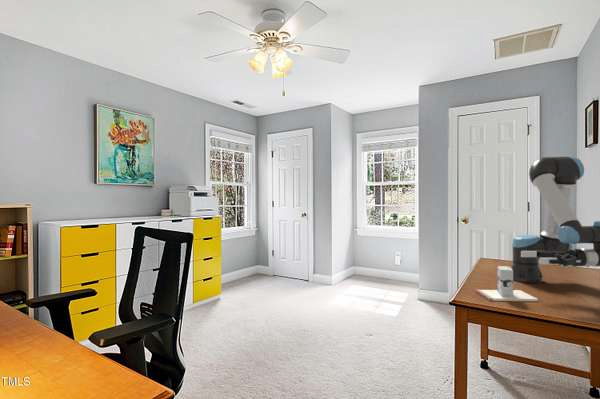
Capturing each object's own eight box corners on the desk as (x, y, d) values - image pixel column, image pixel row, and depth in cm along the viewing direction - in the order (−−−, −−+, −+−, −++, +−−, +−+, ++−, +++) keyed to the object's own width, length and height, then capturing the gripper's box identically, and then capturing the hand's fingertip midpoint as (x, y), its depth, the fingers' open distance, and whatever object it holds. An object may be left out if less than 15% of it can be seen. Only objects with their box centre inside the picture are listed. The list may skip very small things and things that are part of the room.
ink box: (497, 290, 157) (497, 265, 156) (509, 292, 155) (509, 266, 154) (500, 296, 149) (500, 269, 148) (513, 297, 147) (513, 270, 147)
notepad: (519, 292, 157) (520, 289, 157) (537, 301, 144) (537, 298, 144) (475, 291, 159) (475, 289, 159) (489, 300, 146) (489, 298, 146)
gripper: (604, 273, 135) (549, 273, 137) (560, 259, 160) (514, 259, 162) (605, 255, 135) (549, 255, 136) (561, 243, 160) (514, 243, 161)
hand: (530, 257), depth 149 cm, fingers open, 13 cm apart
